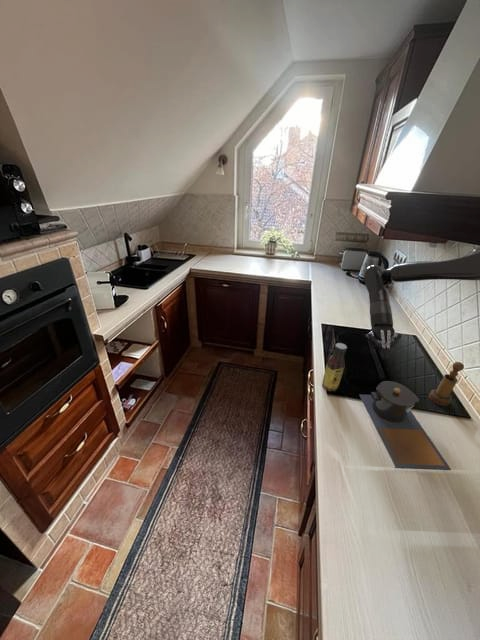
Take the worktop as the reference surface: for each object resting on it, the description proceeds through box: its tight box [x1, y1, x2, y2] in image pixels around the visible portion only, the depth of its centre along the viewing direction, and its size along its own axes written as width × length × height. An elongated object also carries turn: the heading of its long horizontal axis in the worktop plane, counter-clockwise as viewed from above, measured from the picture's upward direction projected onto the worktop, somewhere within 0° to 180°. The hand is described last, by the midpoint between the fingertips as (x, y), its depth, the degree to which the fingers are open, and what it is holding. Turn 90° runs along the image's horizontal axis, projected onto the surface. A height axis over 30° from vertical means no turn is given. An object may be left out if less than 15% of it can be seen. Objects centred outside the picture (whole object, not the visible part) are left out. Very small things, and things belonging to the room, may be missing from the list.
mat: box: [358, 393, 452, 471], centre depth 85 cm, size 16×28×1 cm, turn 179°
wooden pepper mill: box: [428, 361, 465, 407], centre depth 92 cm, size 7×6×18 cm
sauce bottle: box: [321, 342, 348, 393], centre depth 96 cm, size 7×6×20 cm
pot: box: [370, 380, 420, 423], centre depth 89 cm, size 15×12×10 cm
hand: (385, 359), depth 94 cm, fingers closed
